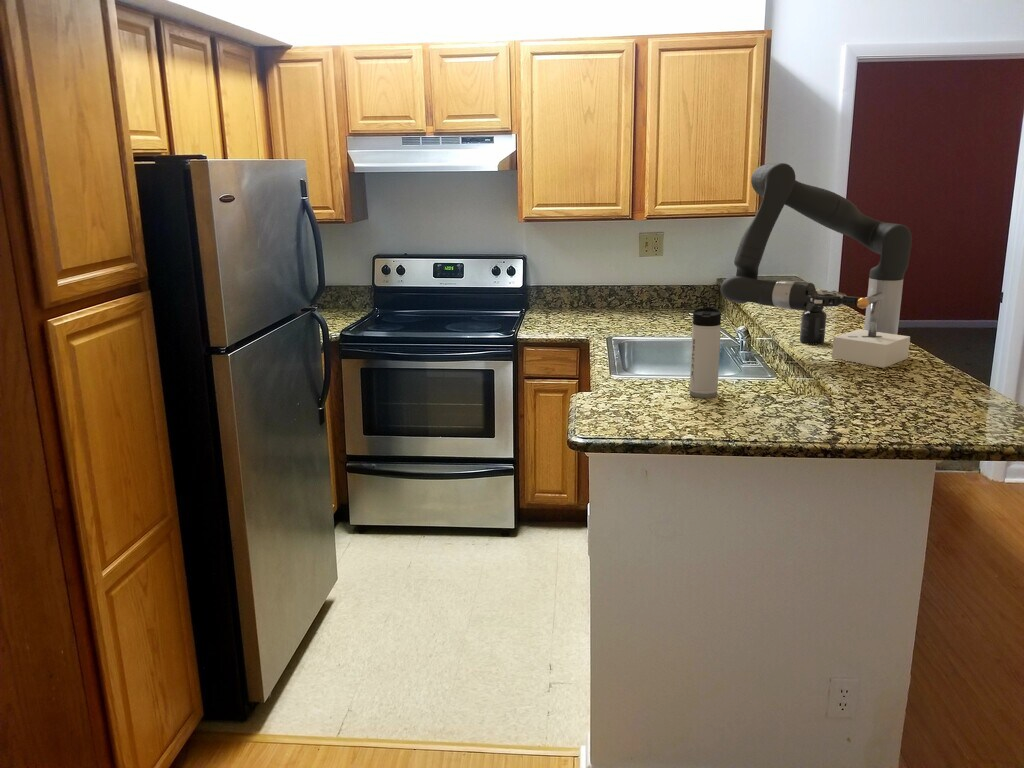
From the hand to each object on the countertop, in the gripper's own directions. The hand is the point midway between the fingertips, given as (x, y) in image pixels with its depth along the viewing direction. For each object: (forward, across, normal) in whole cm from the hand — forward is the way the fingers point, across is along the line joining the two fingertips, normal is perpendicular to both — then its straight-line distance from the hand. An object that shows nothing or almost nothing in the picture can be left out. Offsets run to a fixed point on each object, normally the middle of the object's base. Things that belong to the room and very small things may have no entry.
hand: (859, 301), depth 204 cm
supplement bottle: (-19, +19, +17) cm, 31 cm away
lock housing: (+1, +9, +16) cm, 19 cm away
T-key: (+1, +5, +10) cm, 11 cm away
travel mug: (-16, -49, +17) cm, 54 cm away
